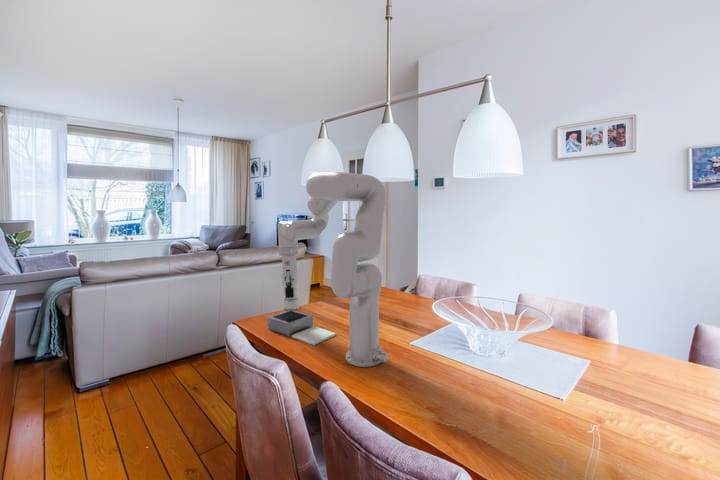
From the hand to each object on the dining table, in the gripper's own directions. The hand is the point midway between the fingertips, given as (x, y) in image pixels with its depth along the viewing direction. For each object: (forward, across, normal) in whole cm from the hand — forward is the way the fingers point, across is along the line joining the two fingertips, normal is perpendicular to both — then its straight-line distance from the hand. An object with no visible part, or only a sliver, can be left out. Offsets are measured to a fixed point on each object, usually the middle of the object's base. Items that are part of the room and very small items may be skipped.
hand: (290, 295), depth 136 cm
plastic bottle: (+7, 0, 0) cm, 7 cm away
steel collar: (+14, +1, +1) cm, 14 cm away
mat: (+14, -9, -9) cm, 19 cm away
